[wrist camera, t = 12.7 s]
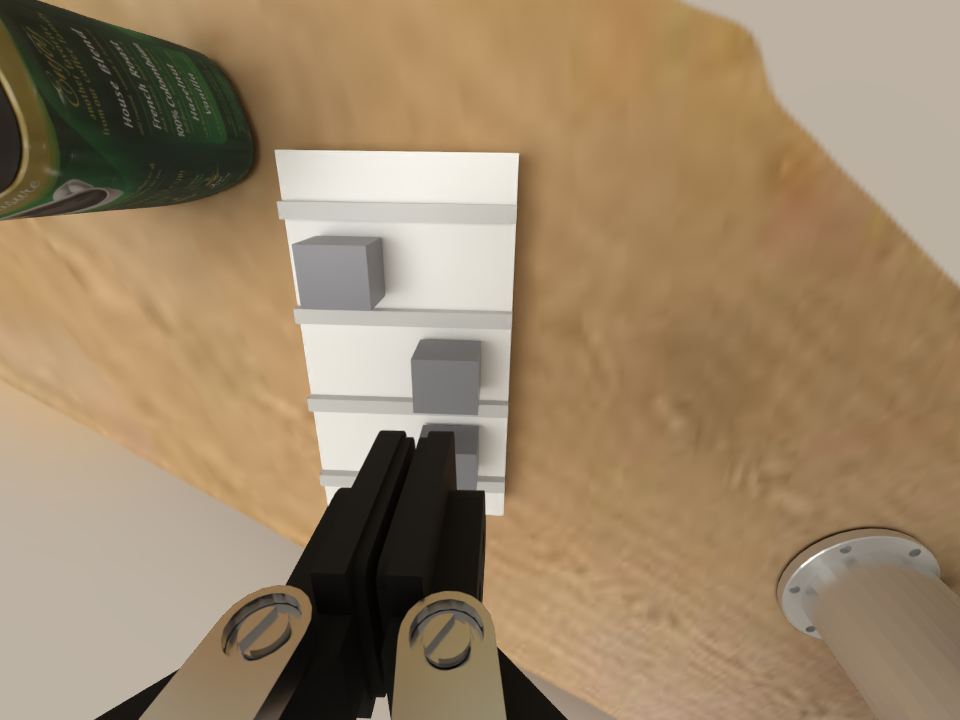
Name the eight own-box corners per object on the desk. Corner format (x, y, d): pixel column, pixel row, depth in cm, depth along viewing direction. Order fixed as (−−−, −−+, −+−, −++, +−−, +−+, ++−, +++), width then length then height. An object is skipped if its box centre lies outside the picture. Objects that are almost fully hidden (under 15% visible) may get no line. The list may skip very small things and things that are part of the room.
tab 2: (481, 341, 29) (478, 361, 26) (480, 390, 31) (478, 415, 28) (420, 339, 29) (410, 359, 26) (422, 388, 31) (413, 413, 28)
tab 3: (479, 426, 32) (476, 454, 29) (478, 468, 33) (475, 499, 30) (423, 424, 32) (414, 452, 29) (424, 466, 33) (416, 497, 30)
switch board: (517, 154, 27) (519, 152, 25) (503, 494, 38) (503, 521, 35) (293, 151, 28) (268, 149, 25) (338, 487, 38) (325, 514, 35)
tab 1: (381, 237, 27) (365, 245, 24) (385, 295, 28) (371, 311, 25) (315, 235, 27) (291, 244, 24) (323, 293, 29) (301, 309, 25)
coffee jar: (217, 32, 26) (-344, -239, 9) (277, 175, 29) (-55, 185, 12) (77, 86, 27) (-643, -55, 10) (148, 217, 30) (-318, 281, 13)
